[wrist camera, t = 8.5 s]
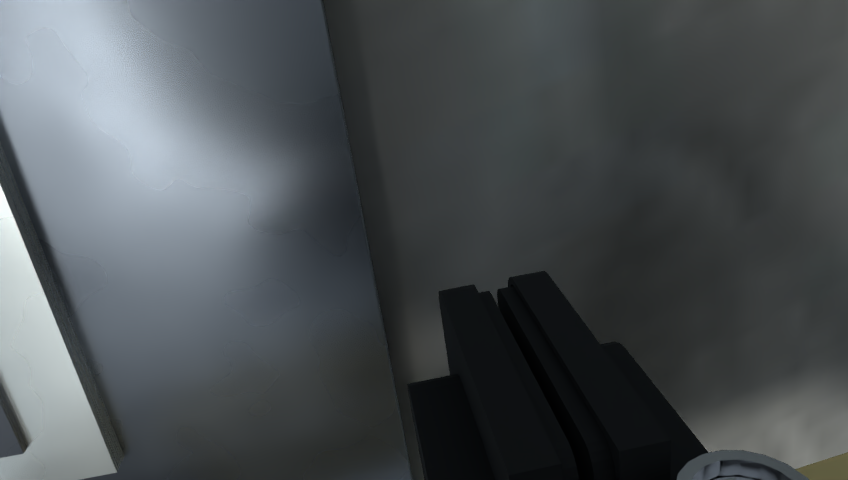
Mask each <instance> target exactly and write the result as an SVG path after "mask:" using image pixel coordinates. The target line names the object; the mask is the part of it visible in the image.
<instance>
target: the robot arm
mask: <svg viewBox="0 0 848 480" xmlns="http://www.w3.org/2000/svg"><path fill="white" fill-rule="evenodd" d="M497 297H498V306H497V304H496V302H495V300H494V298H493V296H492V294H491V293H490V291H486V292H481V293H478V291H477V289H476V287H475V285H468V286H463V287H458V288H453V289H448V290H442V291H439V302H440V309H441V316H442V323H443V330H444V336H445V343H446V350H447V357H448V364H449V371H450V375H449V376H444V377H440V378H435V379H430V380H425V381H420V382H415V383H410V384H407V385H408V392H409V398H410V403H411V409H412V414H413V420H414V426H415V431H416V436H417V442H418V447H419V452H420V458H421V463H422V468H423V473H424V478H425V480H809V479H808V478H807V477H806V476H804V475H803V474H801V473H800V472H798V471H797V470H795V469H794V468H792V467H791V466H789V465H788V464H786V463H783V462H781V461H779V460H776V459H774V458H771V457H769V456H766V455H763V454H758V453H753V452H748V451H744V450H719V451H715V452H710V453H708V451H707V450H706V449H705V448H704V446H703V445H702V444H701V443H700V441H699V440H698V439H697V438H696V436H695V435H694V434H693V433H692V431H691V430H690V429H689V428H688V426H687V425H686V424H685V423H684V421H683V420H682V419H681V418H680V416H679V415H678V414H677V413H676V411H675V410H674V409H673V408H672V406H671V405H670V404H669V403H668V401H667V400H666V399H665V398H664V396H663V395H662V394H661V393H660V391H659V390H658V389H657V388H656V386H655V385H654V384H653V383H652V381H651V380H650V379H649V378H648V376H647V375H646V374H645V373H644V371H643V370H642V369H641V368H640V366H639V365H638V364H637V363H636V361H635V360H634V359H633V358H632V356H631V355H630V354H629V353H628V351H627V350H626V349H625V348H624V347H623V346H622V345H621V344H620V343H618V342H611V343H606V344H601V345H600V344H599V342H598V341H597V340H596V338H595V337H594V335H593V334H592V333H591V331H590V330H589V329H588V327H587V326H586V325H585V323H584V322H583V321H582V319H581V318H580V317H579V315H578V314H577V313H576V311H575V310H574V308H573V307H572V306H571V304H570V303H569V302H568V300H567V299H566V298H565V296H564V295H563V294H562V292H561V291H560V290H559V288H558V287H557V286H556V284H555V283H554V281H553V280H552V279H551V277H550V276H549V275H548V273H547V272H545V271H541V272H536V273H530V274H525V275H520V276H515V277H510V278H509V280H508V287H507V288H502V289H498V292H497Z"/></svg>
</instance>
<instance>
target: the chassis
mask: <svg viewBox="0 0 848 480" xmlns="http://www.w3.org/2000/svg"><path fill="white" fill-rule="evenodd" d="M0 480H413V478H412V473H411V467H410V462H409V457H408V451H407V446H406V441H405V435H404V430H403V425H402V419H401V414H400V409H399V403H398V398H397V393H396V387H395V382H394V377H393V371H392V366H391V361H390V356H389V350H388V345H387V340H386V334H385V329H384V324H383V318H382V313H381V308H380V302H379V297H378V292H377V286H376V281H375V276H374V270H373V265H372V260H371V254H370V249H369V244H368V238H367V233H366V228H365V222H364V217H363V212H362V206H361V201H360V196H359V191H358V185H357V180H356V175H355V169H354V164H353V159H352V153H351V148H350V143H349V137H348V132H347V127H346V121H345V116H344V111H343V105H342V100H341V95H340V89H339V84H338V79H337V73H336V68H335V63H334V57H333V52H332V47H331V41H330V36H329V31H328V26H327V20H326V15H325V10H324V4H323V0H0Z"/></svg>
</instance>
